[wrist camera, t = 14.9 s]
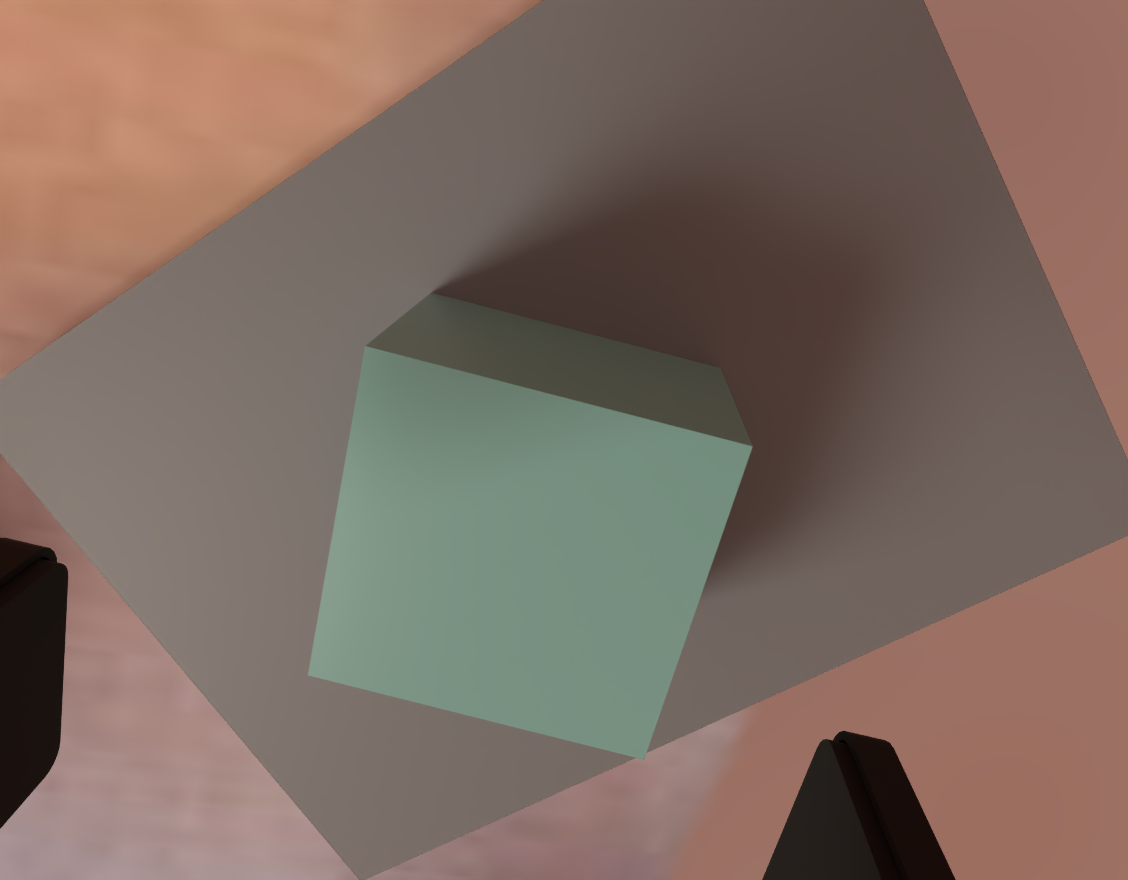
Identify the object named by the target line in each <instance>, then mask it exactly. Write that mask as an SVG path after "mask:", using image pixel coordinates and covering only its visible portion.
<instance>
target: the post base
mask: <svg viewBox="0 0 1128 880" xmlns="http://www.w3.org/2000/svg"><path fill="white" fill-rule="evenodd" d="M430 293H435V294H439V295H442V296H446V297H450V298H454V299H458V300H462V301H466V302H469V303H473V304H477V305H481V306H485V307H489V308H492V309H496V310H500V311H504V312H508V313H512V314H515V315H519V316H523V317H527V318H531V319H535V320H538V321H542V322H546V323H550V324H554V325H558V326H561V327H565V328H569V329H573V330H577V331H581V332H584V333H588V334H592V335H596V336H600V337H604V338H607V339H611V340H615V341H619V342H623V343H627V344H630V345H634V346H638V347H642V348H646V349H650V350H653V351H657V352H661V353H665V354H669V355H673V356H676V357H680V358H684V359H688V360H692V361H696V362H699V363H703V364H707V365H711V366H715V367H719V368H721V371H722V373H723V375H724V378H725V380H726V383H727V385H728V388H729V390H730V393H731V395H732V397H733V400H734V402H735V405H736V407H737V410H738V412H739V414H740V417H741V419H742V422H743V424H744V427H745V429H746V431H747V434H748V436H749V439H750V441H751V444H752V446H753V447H752V450H751V453H750V456H749V459H748V461H747V464H746V467H745V470H744V473H743V476H742V479H741V482H740V485H739V487H738V490H737V493H736V496H735V499H734V502H733V505H732V508H731V510H730V513H729V516H728V519H727V522H726V525H725V528H724V531H723V534H722V536H721V539H720V542H719V545H718V548H717V551H716V554H715V557H714V559H713V562H712V565H711V568H710V571H709V574H708V577H707V580H706V583H705V585H704V588H703V591H702V594H701V597H700V600H699V603H698V606H697V608H696V611H695V614H694V617H693V620H692V623H691V626H690V629H689V632H688V634H687V637H686V640H685V643H684V646H683V649H682V652H681V655H680V657H679V660H678V663H677V666H676V669H675V672H674V675H673V678H672V680H671V683H670V686H669V689H668V692H667V695H666V698H665V701H664V704H663V706H662V709H661V712H660V715H659V718H658V721H657V724H656V727H655V729H654V732H653V735H652V738H651V741H650V744H649V747H648V750H647V752H649V751H652V750H654V749H656V748H658V747H660V746H663V745H665V744H667V743H669V742H671V741H674V740H676V739H678V738H680V737H683V736H685V735H687V734H689V733H691V732H694V731H696V730H698V729H700V728H703V727H705V726H707V725H709V724H711V723H714V722H716V721H718V720H720V719H722V718H725V717H727V716H729V715H731V714H734V713H736V712H738V711H740V710H742V709H745V708H747V707H749V706H751V705H753V704H756V703H758V702H760V701H762V700H765V699H766V698H769V697H771V696H773V695H776V694H777V693H780V692H782V691H785V690H787V689H789V688H791V687H793V686H796V685H798V684H800V683H802V682H804V681H806V680H809V679H811V678H813V677H816V676H818V675H820V674H822V673H824V672H827V671H829V670H831V669H833V668H835V667H838V666H840V665H842V664H844V663H847V662H849V661H851V660H853V659H855V658H858V657H860V656H862V655H864V654H867V653H869V652H871V651H873V650H875V649H878V648H879V647H882V646H884V645H887V644H889V643H891V642H893V641H895V640H898V639H900V638H902V637H904V636H906V635H909V634H911V633H913V632H915V631H918V630H920V629H922V628H924V627H926V626H929V625H931V624H933V623H935V622H938V621H940V620H942V619H944V618H946V617H949V616H951V615H953V614H955V613H957V612H960V611H962V610H964V609H966V608H969V607H970V606H973V605H975V604H977V603H980V602H982V601H984V600H986V599H989V598H991V597H993V596H995V595H997V594H999V593H1002V592H1004V591H1006V590H1008V589H1011V588H1013V587H1015V586H1017V585H1019V584H1021V583H1024V582H1026V581H1028V580H1031V579H1033V578H1035V577H1037V576H1040V575H1041V574H1044V573H1046V572H1048V571H1051V570H1053V569H1055V568H1057V567H1059V566H1061V565H1064V564H1066V563H1068V562H1070V561H1073V560H1075V559H1077V558H1079V557H1082V556H1084V555H1086V554H1088V553H1091V552H1093V551H1095V550H1097V549H1099V548H1102V547H1104V546H1106V545H1108V544H1110V543H1113V542H1115V541H1117V540H1119V539H1122V538H1124V537H1126V536H1128V460H1127V457H1126V455H1125V453H1124V451H1123V448H1122V446H1121V444H1120V442H1119V439H1118V437H1117V435H1116V433H1115V430H1114V428H1113V426H1112V424H1111V421H1110V419H1109V417H1108V415H1107V412H1106V410H1105V408H1104V406H1103V403H1102V401H1101V399H1100V397H1099V394H1098V392H1097V390H1096V388H1095V385H1094V383H1093V381H1092V378H1091V376H1090V374H1089V372H1088V369H1087V367H1086V365H1085V363H1084V360H1083V358H1082V356H1081V354H1080V352H1079V349H1078V347H1077V345H1076V342H1075V340H1074V338H1073V336H1072V334H1071V331H1070V329H1069V327H1068V325H1067V322H1066V320H1065V318H1064V316H1063V313H1062V311H1061V309H1060V307H1059V304H1058V302H1057V300H1056V298H1055V295H1054V293H1053V291H1052V288H1051V286H1050V284H1049V282H1048V279H1047V277H1046V275H1045V273H1044V271H1043V268H1042V266H1041V264H1040V261H1039V259H1038V257H1037V255H1036V252H1035V250H1034V248H1033V246H1032V244H1031V241H1030V239H1029V237H1028V235H1027V232H1026V230H1025V228H1024V225H1023V223H1022V221H1021V219H1020V217H1019V214H1018V212H1017V210H1016V208H1015V205H1014V203H1013V201H1012V199H1011V196H1010V194H1009V192H1008V190H1007V187H1006V185H1005V183H1004V180H1003V178H1002V176H1001V174H1000V171H999V169H998V167H997V165H996V163H995V160H994V158H993V156H992V153H991V151H990V149H989V147H988V144H987V142H986V140H985V138H984V135H983V133H982V131H981V129H980V126H979V124H978V122H977V120H976V117H975V115H974V113H973V111H972V108H971V106H970V104H969V102H968V99H967V97H966V95H965V93H964V90H963V88H962V86H961V83H960V81H959V79H958V77H957V75H956V72H955V70H954V68H953V66H952V63H951V61H950V59H949V57H948V54H947V52H946V50H945V47H944V45H943V43H942V41H941V39H940V36H939V34H938V32H937V29H936V27H935V25H934V23H933V21H932V18H931V16H930V14H929V11H928V9H927V7H926V5H925V3H924V0H543V1H542V2H540V3H539V4H537V5H536V6H535V7H533V8H532V9H530V10H529V11H527V12H526V13H525V14H523V15H522V16H520V17H519V18H517V19H516V20H514V21H513V22H512V23H510V24H509V25H507V26H506V27H504V28H503V29H502V30H500V31H499V32H497V33H496V34H494V35H493V36H492V37H490V38H489V39H487V40H486V41H484V42H483V43H482V44H480V45H479V46H477V47H476V48H474V49H473V50H471V51H470V52H469V53H467V54H466V55H464V56H463V57H461V58H460V59H459V60H457V61H456V62H454V63H453V64H451V65H450V66H449V67H447V68H446V69H444V70H443V71H441V72H440V73H439V74H437V75H436V76H434V77H433V78H431V79H430V80H428V81H427V82H426V83H424V84H423V85H421V86H420V87H418V88H417V89H416V90H414V91H413V92H411V93H410V94H408V95H407V96H406V97H404V98H403V99H401V100H400V101H398V102H397V103H396V104H394V105H393V106H391V107H390V108H388V109H387V110H385V111H384V112H383V113H381V114H380V115H378V116H377V117H375V118H374V119H373V120H371V121H370V122H368V123H367V124H365V125H364V126H363V127H361V128H360V129H358V130H357V131H355V132H354V133H353V134H351V135H350V136H348V137H347V138H345V139H344V140H342V141H341V142H340V143H338V144H337V145H335V146H334V147H332V148H331V149H330V150H328V151H327V152H325V153H324V154H322V155H321V156H320V157H318V158H317V159H315V160H314V161H312V162H311V163H310V164H308V165H307V166H305V167H304V168H302V169H301V170H299V171H298V172H297V173H295V174H294V175H292V176H291V177H289V178H288V179H287V180H285V181H284V182H282V183H281V184H279V185H278V186H277V187H275V188H274V189H272V190H271V191H269V192H268V193H267V194H265V195H264V196H262V197H261V198H259V199H258V200H256V201H255V202H254V203H252V204H251V205H249V206H248V207H246V208H245V209H244V210H242V211H241V212H239V213H238V214H236V215H235V216H234V217H232V218H231V219H229V220H228V221H226V222H225V223H224V224H222V225H221V226H219V227H218V228H216V229H215V230H213V231H212V232H211V233H209V234H208V235H206V236H205V237H203V238H202V239H201V240H199V241H198V242H196V243H195V244H193V245H192V246H191V247H189V248H188V249H186V250H185V251H183V252H182V253H181V254H179V255H178V256H176V257H175V258H173V259H172V260H170V261H169V262H168V263H166V264H165V265H163V266H162V267H160V268H159V269H158V270H156V271H155V272H153V273H152V274H150V275H149V276H148V277H146V278H145V279H143V280H142V281H140V282H139V283H138V284H136V285H135V286H133V287H132V288H130V289H129V290H127V291H126V292H125V293H123V294H122V295H120V296H119V297H117V298H116V299H115V300H113V301H112V302H110V303H109V304H107V305H106V306H105V307H103V308H102V309H100V310H99V311H97V312H96V313H95V314H93V315H92V316H90V317H89V318H87V319H86V320H84V321H83V322H82V323H80V324H79V325H77V326H76V327H74V328H73V329H72V330H70V331H69V332H67V333H66V334H64V335H63V336H62V337H60V338H59V339H57V340H56V341H54V342H53V343H52V344H50V345H49V346H47V347H46V348H44V349H43V350H41V351H40V352H39V353H37V354H36V355H34V356H33V357H31V358H30V359H29V360H27V361H26V362H24V363H23V364H21V365H20V366H19V367H17V368H16V369H14V370H13V371H11V372H10V373H9V374H7V375H6V376H4V377H3V378H1V379H0V454H1V455H2V456H3V458H4V459H5V460H6V461H7V462H8V464H9V465H10V466H11V467H12V468H13V469H14V471H15V472H16V473H17V474H18V475H19V477H20V478H21V479H22V480H23V481H24V483H25V484H26V485H27V486H28V487H29V488H30V490H31V491H32V492H33V493H34V494H35V496H36V497H37V498H38V499H39V500H40V502H41V503H42V504H43V505H44V506H45V507H46V509H47V510H48V511H49V512H50V513H51V515H52V516H53V517H54V518H55V519H56V521H57V522H58V523H59V524H60V525H61V526H62V528H63V529H64V530H65V531H66V532H67V534H68V535H69V536H70V537H71V538H72V539H73V541H74V542H75V543H76V544H77V545H78V547H79V548H80V549H81V550H82V551H83V553H84V554H85V555H86V556H87V557H88V558H89V560H90V561H91V562H92V563H93V564H94V566H95V567H96V568H97V569H98V570H99V572H100V573H101V574H102V575H103V576H104V577H105V579H106V580H107V581H108V582H109V583H110V585H111V586H112V587H113V588H114V589H115V591H116V592H117V593H118V594H119V595H120V596H121V598H122V599H123V600H124V601H125V602H126V604H127V605H128V606H129V607H130V608H131V610H132V611H133V612H134V613H135V614H136V615H137V617H138V618H139V619H140V620H141V621H142V623H143V624H144V625H145V626H146V627H147V628H148V630H149V631H150V632H151V633H152V634H153V636H154V637H155V638H156V639H157V640H158V642H159V643H160V644H161V645H162V646H163V647H164V649H165V650H166V651H167V652H168V653H169V655H170V656H171V657H172V658H173V659H174V661H175V662H176V663H177V664H178V665H179V666H180V668H181V669H182V670H183V671H184V672H185V674H186V675H187V676H188V677H189V678H190V680H191V681H192V682H193V683H194V684H195V685H196V687H197V688H198V689H199V690H200V691H201V693H202V694H203V695H204V696H205V697H206V698H207V700H208V701H209V702H210V703H211V704H212V706H213V707H214V708H215V709H216V710H217V712H218V713H219V714H220V715H221V716H222V717H223V719H224V720H225V721H226V722H227V723H228V725H229V726H230V727H231V728H232V729H233V731H234V732H235V733H236V734H237V735H238V736H239V738H240V739H241V740H242V741H243V742H244V744H245V745H246V746H247V747H248V748H249V750H250V751H251V752H252V753H253V754H254V755H255V757H256V758H257V759H258V760H259V761H260V763H261V764H262V765H263V766H264V767H265V768H266V770H267V771H268V772H269V773H270V774H271V776H272V777H273V778H274V779H275V780H276V782H277V783H278V784H279V785H280V786H281V787H282V789H283V790H284V791H285V792H286V793H287V795H288V796H289V797H290V798H291V799H292V801H293V802H294V803H295V804H296V805H297V806H298V808H299V809H300V810H301V811H302V812H303V814H304V815H305V816H306V817H307V818H308V820H309V821H310V822H311V823H312V824H313V825H314V827H315V828H316V829H317V830H318V831H319V833H320V834H321V835H322V836H323V837H324V838H325V840H326V841H327V842H328V843H329V844H330V846H331V847H332V848H333V849H334V850H335V852H336V853H337V854H338V855H339V856H340V857H341V859H342V860H343V861H344V862H345V863H346V865H347V866H348V867H349V868H350V869H351V871H352V872H353V873H354V874H355V875H356V876H357V878H358V879H359V880H366V879H368V878H370V877H372V876H374V875H377V874H379V873H381V872H383V871H385V870H388V869H390V868H392V867H394V866H397V865H399V864H401V863H403V862H405V861H408V860H410V859H412V858H414V857H417V856H419V855H421V854H423V853H425V852H428V851H430V850H432V849H434V848H436V847H439V846H441V845H443V844H445V843H448V842H450V841H452V840H454V839H456V838H459V837H461V836H463V835H465V834H468V833H470V832H472V831H474V830H476V829H479V828H481V827H483V826H485V825H487V824H490V823H492V822H494V821H496V820H499V819H501V818H503V817H505V816H507V815H510V814H512V813H514V812H516V811H519V810H521V809H523V808H525V807H527V806H530V805H532V804H534V803H536V802H538V801H541V800H543V799H545V798H547V797H550V796H552V795H554V794H556V793H558V792H561V791H563V790H565V789H567V788H570V787H572V786H574V785H576V784H578V783H581V782H583V781H585V780H587V779H589V778H592V777H594V776H596V775H598V774H601V773H603V772H605V771H607V770H609V769H612V768H614V767H616V766H618V765H620V764H623V763H625V762H627V761H629V760H632V759H634V758H635V757H631V756H627V755H623V754H619V753H615V752H611V751H607V750H603V749H599V748H595V747H591V746H587V745H583V744H579V743H575V742H571V741H567V740H563V739H559V738H555V737H551V736H547V735H543V734H539V733H535V732H531V731H527V730H523V729H519V728H515V727H511V726H507V725H504V724H500V723H496V722H492V721H488V720H484V719H480V718H476V717H472V716H468V715H464V714H460V713H456V712H452V711H448V710H444V709H440V708H436V707H432V706H428V705H424V704H420V703H416V702H412V701H408V700H404V699H400V698H396V697H392V696H388V695H384V694H380V693H376V692H372V691H368V690H364V689H360V688H356V687H352V686H348V685H344V684H340V683H336V682H332V681H328V680H324V679H320V678H316V677H312V676H308V672H309V666H310V660H311V654H312V649H313V643H314V637H315V631H316V626H317V620H318V614H319V608H320V603H321V597H322V591H323V585H324V580H325V574H326V568H327V562H328V557H329V551H330V545H331V539H332V534H333V528H334V522H335V516H336V511H337V505H338V499H339V493H340V488H341V482H342V476H343V470H344V465H345V459H346V453H347V447H348V442H349V436H350V430H351V424H352V419H353V413H354V407H355V401H356V396H357V390H358V384H359V378H360V373H361V367H362V361H363V355H364V350H365V346H366V345H367V344H368V343H369V342H371V341H372V340H373V339H374V338H376V337H377V336H378V335H379V334H381V333H382V332H383V331H384V330H386V329H387V328H388V327H389V326H390V325H392V324H393V323H394V322H395V321H397V320H398V319H399V318H400V317H402V316H403V315H404V314H405V313H407V312H408V311H409V310H410V309H411V308H413V307H414V306H415V305H416V304H418V303H419V302H420V301H421V300H423V299H424V298H425V297H426V296H428V295H429V294H430Z"/></svg>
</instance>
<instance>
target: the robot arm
mask: <svg viewBox="0 0 1128 880" xmlns="http://www.w3.org/2000/svg"><path fill="white" fill-rule="evenodd" d="M67 590H68V570H67V568H66V566H65V565H63V564H61V563H57V557H56V555H55V553H54V551H53V550H51V549H50V548H47V547H42V546H38V545H34V544H29V543H25V542H21V541H16V540H12V539H8V538H0V828H1V827H2V826H3V825H4V824H5V823H6V822H7V820H8V819H9V818H10V817H11V816H12V815H13V813H14V812H15V811H16V810H17V809H18V808H19V807H20V805H21V804H22V803H23V802H24V801H25V800H26V798H27V797H28V796H29V795H30V794H31V793H32V792H33V790H34V789H35V788H36V787H37V786H38V785H39V783H40V782H41V781H42V780H43V779H44V778H45V776H46V775H47V774H48V772H49V771H50V769H51V767H52V766H53V764H54V762H55V759H56V757H57V754H58V751H59V747H60V736H61V715H62V694H63V674H64V653H65V632H66V611H67ZM762 880H955V877H954V876H953V874H952V871H951V869H950V867H949V865H948V863H947V860H946V858H945V856H944V854H943V852H942V850H941V848H940V846H939V844H938V841H937V839H936V837H935V835H934V833H933V831H932V829H931V826H930V825H929V822H928V820H927V818H926V816H925V814H924V812H923V809H922V807H921V805H920V803H919V801H918V799H917V797H916V795H915V792H914V790H913V788H912V786H911V784H910V782H909V780H908V778H907V775H906V773H905V771H904V769H903V767H902V765H901V763H900V761H899V758H898V756H897V754H896V752H895V750H894V748H893V747H892V745H891V744H890V743H889V742H887V741H885V740H881V739H877V738H872V737H868V736H864V735H859V734H855V733H851V732H846V731H842V732H839V733H838V734H837V735H836V736H835V738H834V740H833V741H832V740H828V739H825V740H822V742H820V744H819V746H818V747H817V750H816V752H815V754H814V757H813V759H812V761H811V764H810V766H809V769H808V771H807V773H806V776H805V778H804V781H803V783H802V786H801V788H800V790H799V793H798V795H797V798H796V800H795V802H794V805H793V807H792V810H791V812H790V815H789V817H788V819H787V822H786V824H785V826H784V829H783V831H782V834H781V836H780V838H779V841H778V843H777V846H776V848H775V850H774V853H773V855H772V858H771V860H770V863H769V865H768V867H767V870H766V872H765V875H764V877H763V879H762Z"/></svg>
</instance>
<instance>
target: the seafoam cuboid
mask: <svg viewBox="0 0 1128 880" xmlns="http://www.w3.org/2000/svg"><path fill="white" fill-rule="evenodd" d="M752 447H753V446H752V444H751V441H750V439H749V436H748V434H747V431H746V429H745V427H744V424H743V422H742V419H741V417H740V414H739V412H738V410H737V407H736V405H735V402H734V400H733V397H732V395H731V393H730V390H729V388H728V385H727V383H726V380H725V378H724V375H723V373H722V371H721V368H719V367H715V366H711V365H707V364H703V363H699V362H696V361H692V360H688V359H684V358H680V357H676V356H673V355H669V354H665V353H661V352H657V351H653V350H650V349H646V348H642V347H638V346H634V345H630V344H627V343H623V342H619V341H615V340H611V339H607V338H604V337H600V336H596V335H592V334H588V333H584V332H581V331H577V330H573V329H569V328H565V327H561V326H558V325H554V324H550V323H546V322H542V321H538V320H535V319H531V318H527V317H523V316H519V315H515V314H512V313H508V312H504V311H500V310H496V309H492V308H489V307H485V306H481V305H477V304H473V303H469V302H466V301H462V300H458V299H454V298H450V297H446V296H442V295H439V294H435V293H430V294H429V295H428V296H426V297H425V298H424V299H423V300H421V301H420V302H419V303H418V304H416V305H415V306H414V307H413V308H411V309H410V310H409V311H408V312H407V313H405V314H404V315H403V316H402V317H400V318H399V319H398V320H397V321H395V322H394V323H393V324H392V325H390V326H389V327H388V328H387V329H386V330H384V331H383V332H382V333H381V334H379V335H378V336H377V337H376V338H374V339H373V340H372V341H371V342H369V343H368V344H367V345H366V346H365V350H364V355H363V361H362V367H361V373H360V378H359V384H358V390H357V396H356V401H355V407H354V413H353V419H352V424H351V430H350V436H349V442H348V447H347V453H346V459H345V465H344V470H343V476H342V482H341V488H340V493H339V499H338V505H337V511H336V516H335V522H334V528H333V534H332V539H331V545H330V551H329V557H328V562H327V568H326V574H325V580H324V585H323V591H322V597H321V603H320V608H319V614H318V620H317V626H316V631H315V637H314V643H313V649H312V654H311V660H310V666H309V672H308V676H312V677H316V678H320V679H324V680H328V681H332V682H336V683H340V684H344V685H348V686H352V687H356V688H360V689H364V690H368V691H372V692H376V693H380V694H384V695H388V696H392V697H396V698H400V699H404V700H408V701H412V702H416V703H420V704H424V705H428V706H432V707H436V708H440V709H444V710H448V711H452V712H456V713H460V714H464V715H468V716H472V717H476V718H480V719H484V720H488V721H492V722H496V723H500V724H504V725H507V726H511V727H515V728H519V729H523V730H527V731H531V732H535V733H539V734H543V735H547V736H551V737H555V738H559V739H563V740H567V741H571V742H575V743H579V744H583V745H587V746H591V747H595V748H599V749H603V750H607V751H611V752H615V753H619V754H623V755H627V756H631V757H635V758H639V759H643V760H644V758H645V755H646V753H647V750H648V747H649V744H650V741H651V738H652V735H653V732H654V729H655V727H656V724H657V721H658V718H659V715H660V712H661V709H662V706H663V704H664V701H665V698H666V695H667V692H668V689H669V686H670V683H671V680H672V678H673V675H674V672H675V669H676V666H677V663H678V660H679V657H680V655H681V652H682V649H683V646H684V643H685V640H686V637H687V634H688V632H689V629H690V626H691V623H692V620H693V617H694V614H695V611H696V608H697V606H698V603H699V600H700V597H701V594H702V591H703V588H704V585H705V583H706V580H707V577H708V574H709V571H710V568H711V565H712V562H713V559H714V557H715V554H716V551H717V548H718V545H719V542H720V539H721V536H722V534H723V531H724V528H725V525H726V522H727V519H728V516H729V513H730V510H731V508H732V505H733V502H734V499H735V496H736V493H737V490H738V487H739V485H740V482H741V479H742V476H743V473H744V470H745V467H746V464H747V461H748V459H749V456H750V453H751V450H752Z"/></svg>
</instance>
